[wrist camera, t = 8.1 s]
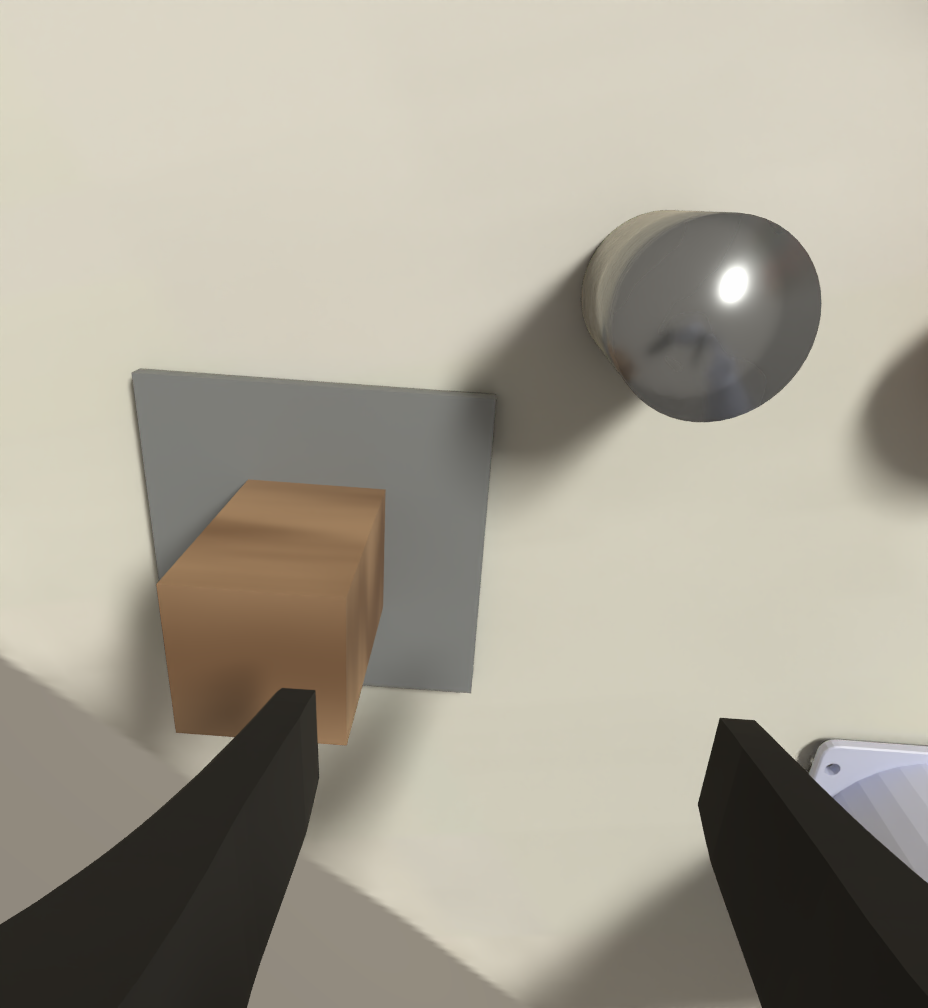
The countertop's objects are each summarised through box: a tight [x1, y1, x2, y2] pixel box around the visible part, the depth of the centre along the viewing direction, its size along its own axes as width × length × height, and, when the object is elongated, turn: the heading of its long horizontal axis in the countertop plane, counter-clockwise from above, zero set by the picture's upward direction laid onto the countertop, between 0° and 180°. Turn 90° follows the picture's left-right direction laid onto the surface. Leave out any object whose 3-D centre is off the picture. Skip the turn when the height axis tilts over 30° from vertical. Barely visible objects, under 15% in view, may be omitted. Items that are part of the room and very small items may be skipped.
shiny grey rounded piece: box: [581, 210, 821, 422], centre depth 16 cm, size 4×4×5 cm
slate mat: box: [132, 369, 496, 693], centre depth 21 cm, size 10×10×1 cm
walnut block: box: [156, 479, 386, 745], centre depth 18 cm, size 4×4×6 cm
